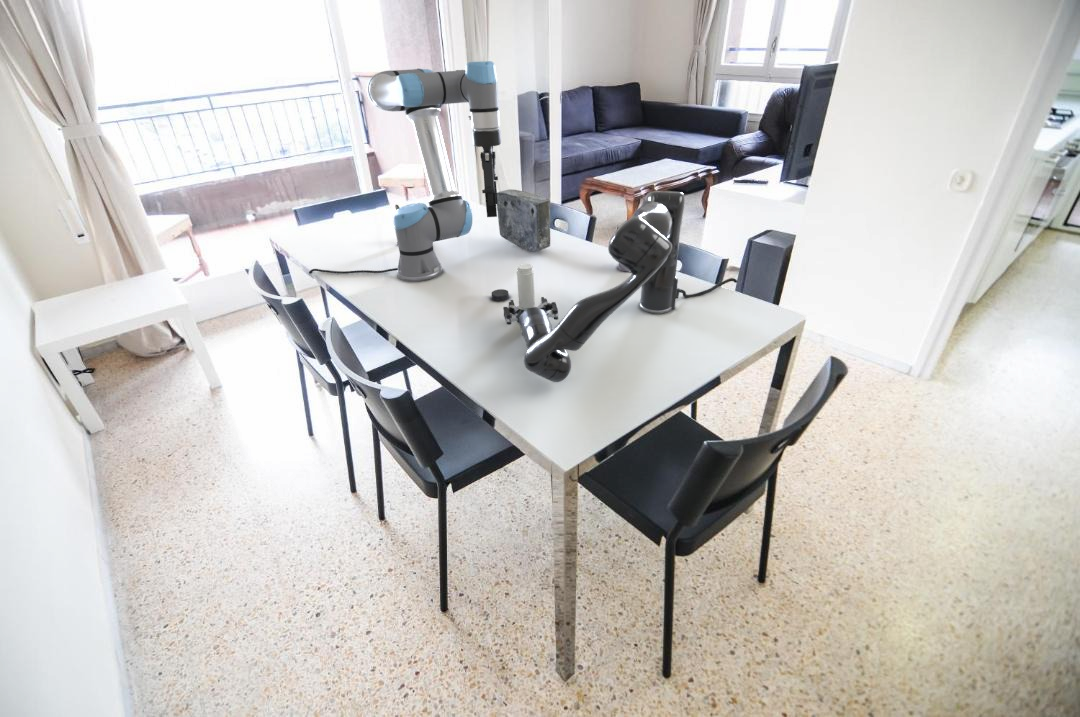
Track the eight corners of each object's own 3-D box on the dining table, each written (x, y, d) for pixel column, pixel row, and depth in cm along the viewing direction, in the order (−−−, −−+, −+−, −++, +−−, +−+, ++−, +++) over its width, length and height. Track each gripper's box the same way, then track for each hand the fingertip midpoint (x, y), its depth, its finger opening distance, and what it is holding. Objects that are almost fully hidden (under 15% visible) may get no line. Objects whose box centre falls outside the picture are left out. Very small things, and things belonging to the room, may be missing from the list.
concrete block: (555, 253, 189) (554, 199, 179) (537, 258, 185) (534, 204, 174) (517, 236, 208) (514, 187, 197) (499, 241, 203) (495, 191, 193)
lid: (509, 294, 159) (508, 288, 158) (508, 301, 154) (508, 295, 153) (492, 294, 159) (491, 289, 158) (491, 302, 154) (491, 296, 153)
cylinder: (520, 325, 140) (517, 269, 131) (519, 318, 144) (515, 263, 135) (536, 323, 141) (534, 268, 132) (534, 316, 144) (532, 262, 136)
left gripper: (474, 124, 142) (481, 199, 153) (468, 136, 120) (477, 223, 131) (500, 123, 142) (505, 198, 153) (499, 135, 121) (505, 221, 132)
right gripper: (564, 311, 123) (552, 286, 137) (506, 317, 121) (500, 291, 135) (564, 338, 127) (552, 311, 141) (509, 344, 125) (502, 316, 139)
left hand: (492, 210), depth 142 cm, fingers open, 13 cm apart
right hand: (527, 301), depth 138 cm, fingers open, 8 cm apart
